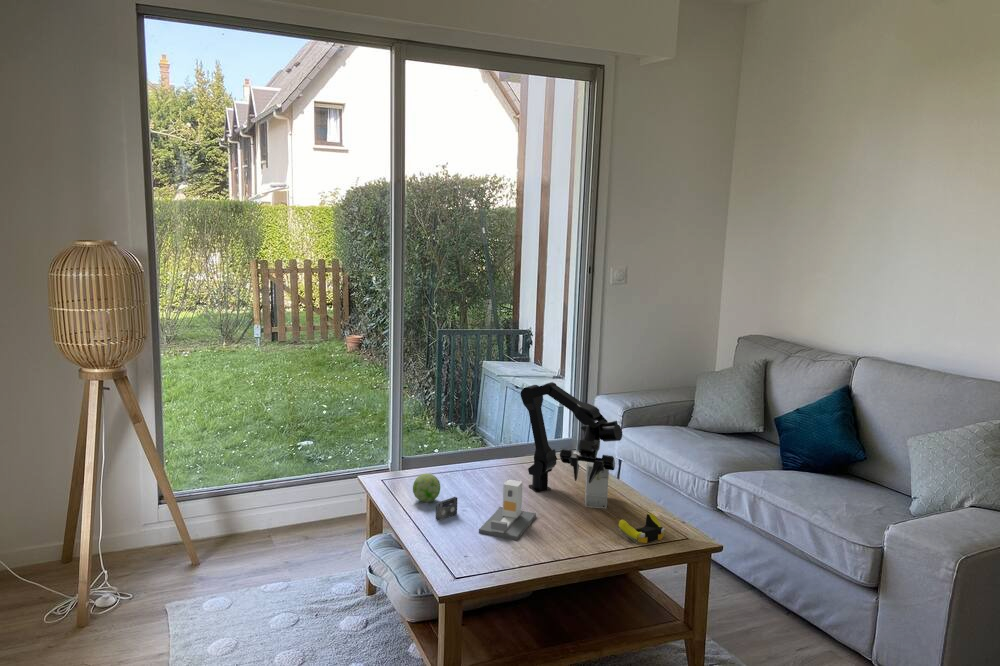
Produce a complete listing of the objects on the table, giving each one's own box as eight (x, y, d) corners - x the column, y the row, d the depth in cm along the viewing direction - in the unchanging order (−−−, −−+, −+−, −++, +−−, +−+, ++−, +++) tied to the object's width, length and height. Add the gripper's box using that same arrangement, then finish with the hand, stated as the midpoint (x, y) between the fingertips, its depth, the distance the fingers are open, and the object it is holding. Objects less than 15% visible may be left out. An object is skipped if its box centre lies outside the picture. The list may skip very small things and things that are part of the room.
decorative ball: (443, 504, 253) (444, 477, 251) (416, 508, 249) (416, 480, 248) (435, 494, 262) (436, 468, 260) (409, 497, 258) (409, 470, 257)
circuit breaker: (604, 493, 269) (607, 454, 266) (606, 508, 255) (609, 467, 252) (584, 492, 269) (586, 453, 267) (585, 506, 255) (587, 466, 253)
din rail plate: (500, 510, 250) (500, 498, 249) (535, 516, 246) (536, 504, 245) (478, 532, 231) (479, 519, 231) (517, 540, 227) (517, 526, 226)
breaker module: (507, 511, 245) (508, 479, 243) (521, 514, 243) (522, 481, 241) (501, 518, 239) (502, 485, 237) (515, 520, 238) (517, 487, 236)
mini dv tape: (454, 512, 247) (454, 496, 246) (457, 514, 245) (457, 497, 245) (435, 519, 241) (436, 502, 240) (438, 520, 240) (438, 503, 239)
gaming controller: (614, 535, 234) (634, 547, 225) (615, 519, 233) (636, 531, 224) (650, 526, 241) (671, 538, 232) (651, 511, 240) (672, 522, 231)
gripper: (562, 426, 250) (552, 466, 242) (615, 433, 244) (607, 475, 236) (567, 442, 259) (557, 481, 250) (618, 449, 253) (610, 490, 244)
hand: (582, 481), depth 245 cm, fingers open, 5 cm apart
